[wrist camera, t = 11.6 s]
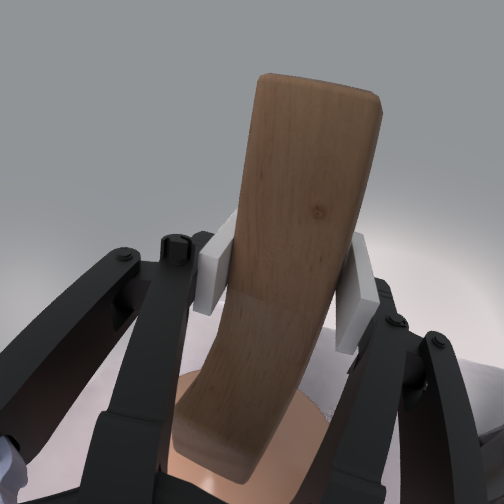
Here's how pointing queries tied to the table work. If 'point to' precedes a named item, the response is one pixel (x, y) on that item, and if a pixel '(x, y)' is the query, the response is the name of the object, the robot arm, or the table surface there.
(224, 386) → the wooden block
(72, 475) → the table surface
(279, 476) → the peach disc
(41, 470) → the table surface
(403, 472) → the robot arm
